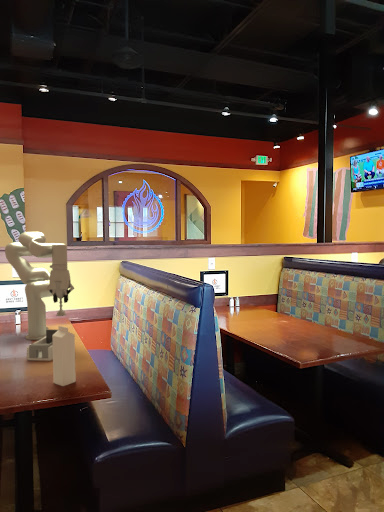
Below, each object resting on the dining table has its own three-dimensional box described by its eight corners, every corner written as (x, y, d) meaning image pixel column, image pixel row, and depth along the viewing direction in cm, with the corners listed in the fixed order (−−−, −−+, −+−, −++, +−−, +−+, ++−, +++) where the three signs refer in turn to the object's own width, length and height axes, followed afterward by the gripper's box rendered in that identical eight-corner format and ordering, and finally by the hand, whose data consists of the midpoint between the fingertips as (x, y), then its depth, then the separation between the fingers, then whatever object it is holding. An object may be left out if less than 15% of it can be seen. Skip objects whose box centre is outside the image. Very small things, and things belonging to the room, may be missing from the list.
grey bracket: (46, 347, 210) (46, 333, 209) (68, 347, 209) (68, 334, 208) (26, 360, 189) (26, 345, 188) (50, 360, 188) (50, 345, 187)
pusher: (47, 346, 207) (47, 329, 207) (63, 346, 206) (63, 329, 206) (31, 356, 190) (31, 338, 190) (49, 356, 189) (48, 338, 189)
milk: (66, 378, 164) (65, 324, 163) (75, 382, 161) (74, 326, 159) (53, 383, 159) (51, 327, 158) (62, 386, 156) (61, 329, 155)
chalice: (60, 313, 218) (59, 279, 217) (70, 314, 216) (70, 280, 215) (51, 316, 211) (50, 281, 210) (62, 316, 209) (61, 281, 208)
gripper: (40, 268, 209) (41, 303, 210) (73, 268, 208) (73, 303, 209) (47, 266, 217) (48, 301, 218) (78, 266, 215) (79, 301, 216)
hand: (60, 301), depth 213 cm, fingers closed on chalice, 4 cm apart
